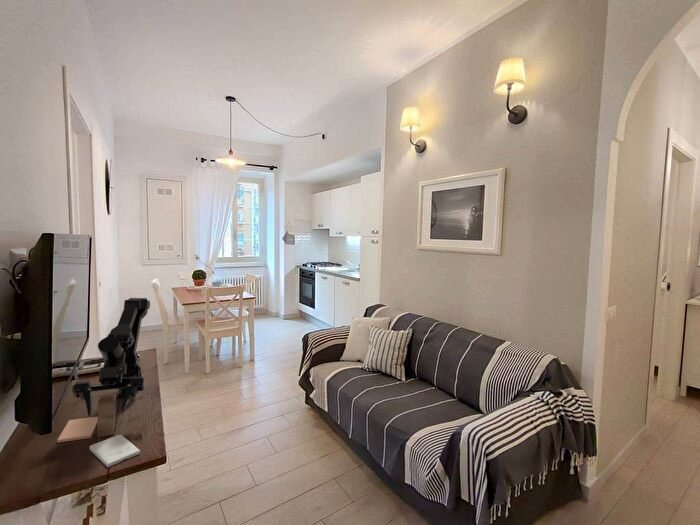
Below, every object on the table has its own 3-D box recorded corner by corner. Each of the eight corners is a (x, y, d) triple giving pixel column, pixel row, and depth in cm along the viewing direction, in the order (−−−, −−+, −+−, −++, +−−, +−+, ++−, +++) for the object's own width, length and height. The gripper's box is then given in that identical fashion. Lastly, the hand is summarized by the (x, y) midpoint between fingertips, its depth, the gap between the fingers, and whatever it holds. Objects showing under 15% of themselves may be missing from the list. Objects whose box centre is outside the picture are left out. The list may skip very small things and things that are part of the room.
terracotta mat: (69, 422, 110) (69, 420, 110) (99, 418, 114) (99, 416, 114) (57, 442, 100) (57, 440, 100) (90, 437, 103) (90, 435, 103)
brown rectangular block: (99, 430, 108) (100, 396, 107) (114, 427, 109) (116, 394, 109) (96, 436, 104) (98, 401, 103) (112, 434, 106) (114, 399, 105)
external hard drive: (121, 439, 105) (140, 455, 98) (89, 451, 98) (107, 469, 91) (121, 433, 105) (140, 449, 98) (89, 445, 98) (107, 463, 91)
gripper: (74, 357, 105) (62, 408, 96) (145, 352, 113) (140, 399, 104) (80, 373, 112) (69, 422, 103) (146, 367, 121) (141, 412, 111)
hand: (106, 413), depth 105 cm, fingers open, 8 cm apart
